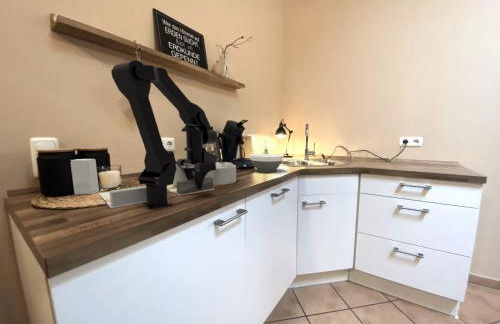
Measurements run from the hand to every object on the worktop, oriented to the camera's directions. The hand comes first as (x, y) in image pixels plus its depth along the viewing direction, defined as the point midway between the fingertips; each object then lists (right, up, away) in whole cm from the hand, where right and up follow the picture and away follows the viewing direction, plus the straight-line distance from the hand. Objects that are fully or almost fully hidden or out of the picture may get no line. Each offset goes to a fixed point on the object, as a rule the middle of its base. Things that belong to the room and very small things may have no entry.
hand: (195, 187), depth 81 cm
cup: (-9, 0, +10) cm, 13 cm away
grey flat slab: (-21, -2, -7) cm, 22 cm away
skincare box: (-38, -2, -2) cm, 38 cm away
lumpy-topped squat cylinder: (+8, 0, +18) cm, 20 cm away
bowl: (+29, +4, +50) cm, 58 cm away
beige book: (-6, -1, +6) cm, 9 cm away
